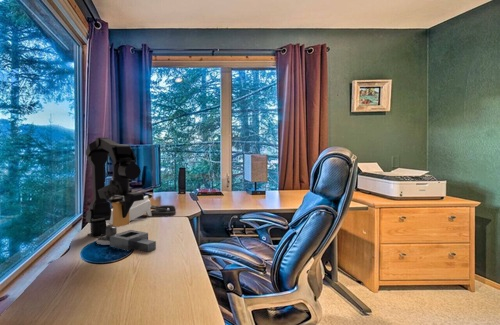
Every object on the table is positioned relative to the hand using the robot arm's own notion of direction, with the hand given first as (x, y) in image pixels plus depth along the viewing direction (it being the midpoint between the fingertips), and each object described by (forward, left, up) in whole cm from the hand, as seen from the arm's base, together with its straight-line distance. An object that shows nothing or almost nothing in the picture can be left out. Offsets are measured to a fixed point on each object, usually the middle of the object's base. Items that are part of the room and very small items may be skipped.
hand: (121, 217), depth 110 cm
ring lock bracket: (-1, +3, -12) cm, 13 cm away
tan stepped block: (0, 0, -3) cm, 3 cm away
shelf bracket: (-31, +32, -13) cm, 46 cm away
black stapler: (-31, +49, -13) cm, 59 cm away
